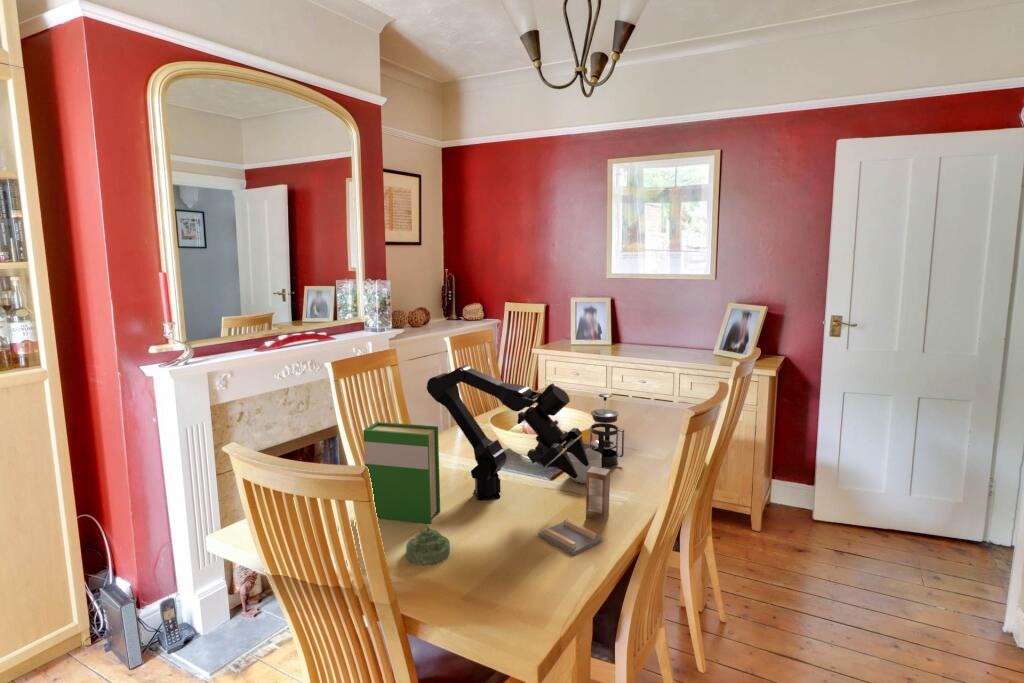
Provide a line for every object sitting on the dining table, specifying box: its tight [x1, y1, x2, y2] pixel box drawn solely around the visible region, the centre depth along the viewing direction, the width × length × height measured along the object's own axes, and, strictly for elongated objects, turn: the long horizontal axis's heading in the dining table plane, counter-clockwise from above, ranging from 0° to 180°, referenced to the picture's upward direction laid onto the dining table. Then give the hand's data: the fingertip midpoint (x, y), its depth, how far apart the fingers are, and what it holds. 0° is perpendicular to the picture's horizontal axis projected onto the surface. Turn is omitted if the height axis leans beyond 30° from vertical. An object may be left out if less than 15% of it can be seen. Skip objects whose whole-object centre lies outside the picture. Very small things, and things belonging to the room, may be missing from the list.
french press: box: [589, 393, 625, 468], centre depth 191 cm, size 12×9×23 cm
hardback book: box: [362, 421, 441, 525], centre depth 154 cm, size 18×7×24 cm, turn 76°
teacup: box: [567, 447, 603, 484], centre depth 179 cm, size 14×11×8 cm
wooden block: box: [585, 467, 611, 523], centre depth 153 cm, size 5×4×13 cm
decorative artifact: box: [405, 525, 451, 567], centre depth 136 cm, size 10×7×10 cm
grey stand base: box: [537, 518, 603, 556], centre depth 143 cm, size 12×10×2 cm
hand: (582, 471), depth 154 cm, fingers open, 9 cm apart
